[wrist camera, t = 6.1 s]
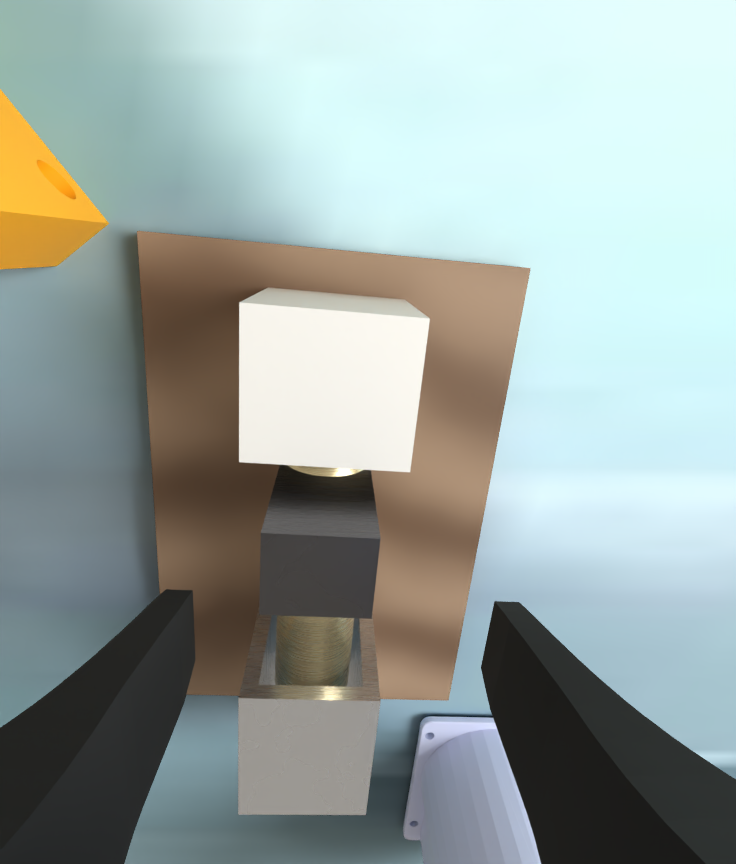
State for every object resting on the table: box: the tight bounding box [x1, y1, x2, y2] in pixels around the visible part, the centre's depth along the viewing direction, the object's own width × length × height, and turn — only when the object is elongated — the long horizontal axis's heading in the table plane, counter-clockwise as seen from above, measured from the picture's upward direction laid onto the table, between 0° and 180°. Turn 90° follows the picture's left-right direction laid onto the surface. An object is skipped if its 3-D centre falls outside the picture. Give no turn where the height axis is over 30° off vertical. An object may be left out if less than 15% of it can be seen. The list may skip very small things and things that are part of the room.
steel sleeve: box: [238, 610, 380, 815], centre depth 21 cm, size 6×5×6 cm
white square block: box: [239, 288, 430, 472], centre depth 16 cm, size 4×5×6 cm
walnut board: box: [137, 231, 530, 700], centre depth 22 cm, size 21×14×1 cm, turn 175°
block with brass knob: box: [259, 465, 381, 687], centre depth 17 cm, size 14×3×7 cm, turn 175°
